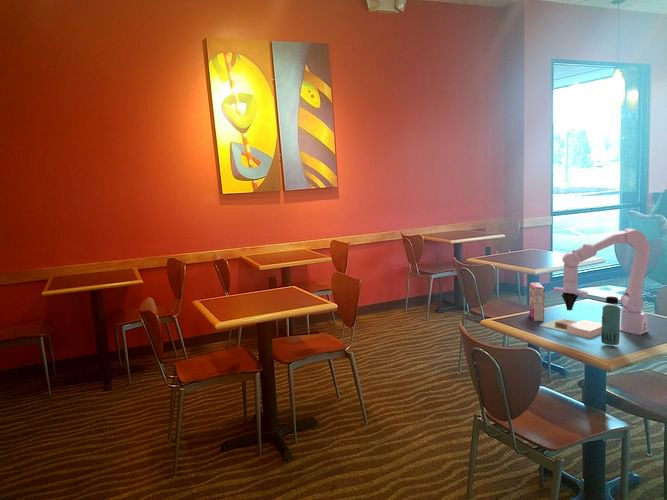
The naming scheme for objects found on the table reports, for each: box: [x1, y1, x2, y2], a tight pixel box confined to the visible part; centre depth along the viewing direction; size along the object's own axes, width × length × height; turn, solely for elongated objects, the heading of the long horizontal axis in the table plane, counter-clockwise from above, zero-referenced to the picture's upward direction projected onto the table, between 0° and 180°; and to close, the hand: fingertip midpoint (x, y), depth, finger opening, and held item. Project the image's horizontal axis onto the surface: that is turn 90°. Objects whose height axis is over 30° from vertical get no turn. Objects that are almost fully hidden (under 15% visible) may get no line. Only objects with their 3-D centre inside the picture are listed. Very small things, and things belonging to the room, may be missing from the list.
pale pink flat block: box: [566, 319, 602, 339], centre depth 211 cm, size 10×14×3 cm
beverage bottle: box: [600, 296, 622, 346], centre depth 191 cm, size 6×7×20 cm
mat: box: [539, 319, 567, 333], centre depth 221 cm, size 12×14×1 cm
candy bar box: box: [528, 282, 545, 322], centre depth 233 cm, size 11×5×16 cm, turn 168°
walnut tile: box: [555, 318, 578, 329], centre depth 218 cm, size 7×7×2 cm
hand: (569, 309), depth 216 cm, fingers closed
